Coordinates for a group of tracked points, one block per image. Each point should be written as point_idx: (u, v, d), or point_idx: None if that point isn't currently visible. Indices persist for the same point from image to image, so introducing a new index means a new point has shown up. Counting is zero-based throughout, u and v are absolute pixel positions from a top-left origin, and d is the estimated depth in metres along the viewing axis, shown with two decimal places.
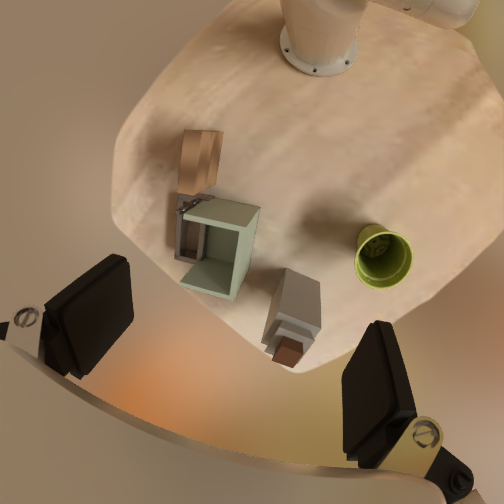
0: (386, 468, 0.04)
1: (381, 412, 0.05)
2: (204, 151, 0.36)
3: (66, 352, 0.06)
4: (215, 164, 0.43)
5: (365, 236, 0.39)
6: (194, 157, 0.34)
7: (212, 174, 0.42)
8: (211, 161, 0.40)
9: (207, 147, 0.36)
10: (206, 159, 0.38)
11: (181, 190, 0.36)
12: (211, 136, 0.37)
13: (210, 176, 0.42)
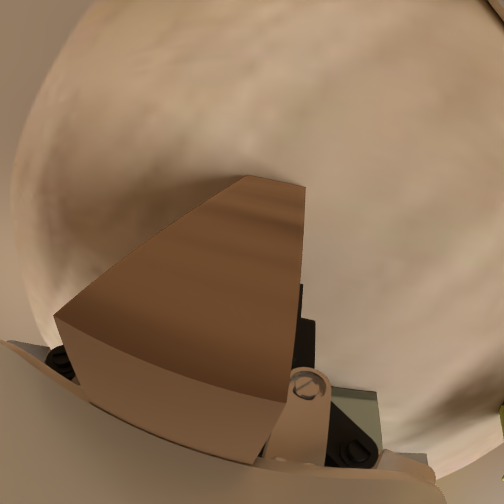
0: (279, 434, 0.04)
1: None
2: None
3: None
4: None
5: None
6: None
7: None
8: None
9: None
10: None
11: None
12: None
13: None
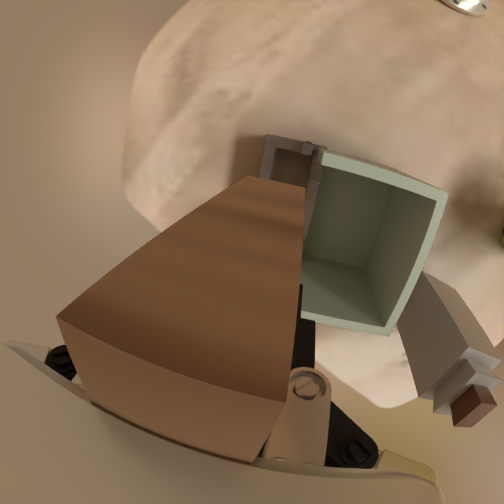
0: (279, 434, 0.04)
1: None
2: None
3: None
4: None
5: None
6: None
7: None
8: None
9: None
10: None
11: None
12: None
13: None
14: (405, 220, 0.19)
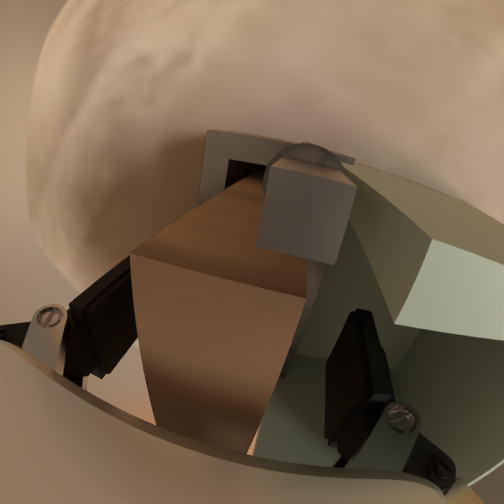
0: (364, 457, 0.04)
1: (357, 396, 0.06)
2: None
3: (90, 351, 0.07)
4: None
5: None
6: (235, 425, 0.05)
7: None
8: None
9: None
10: None
11: None
12: None
13: None
14: None
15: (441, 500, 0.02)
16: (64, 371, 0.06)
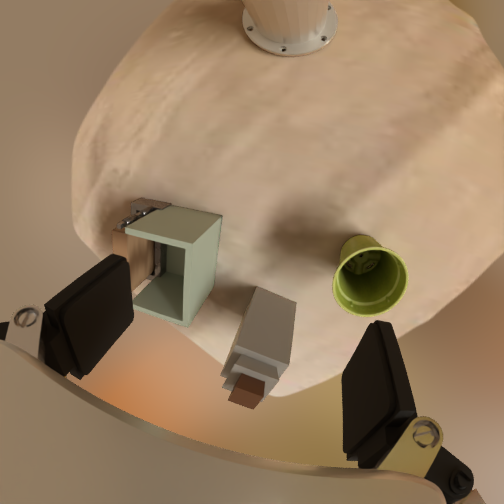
0: (386, 468, 0.04)
1: (381, 412, 0.05)
2: (136, 247, 0.35)
3: (66, 352, 0.06)
4: None
5: (348, 251, 0.32)
6: None
7: (154, 259, 0.41)
8: (150, 249, 0.39)
9: (139, 242, 0.35)
10: (141, 252, 0.36)
11: None
12: None
13: (152, 262, 0.40)
14: None
15: (441, 500, 0.02)
16: None
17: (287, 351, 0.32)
